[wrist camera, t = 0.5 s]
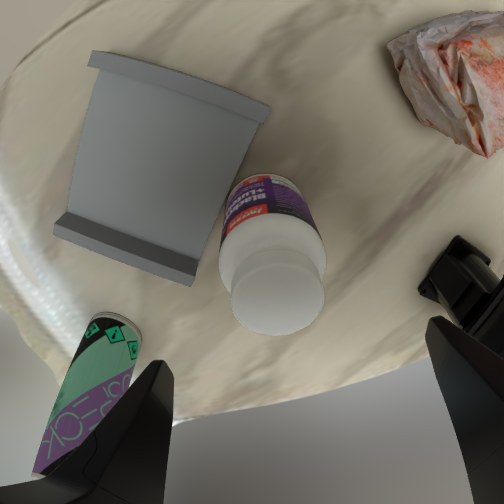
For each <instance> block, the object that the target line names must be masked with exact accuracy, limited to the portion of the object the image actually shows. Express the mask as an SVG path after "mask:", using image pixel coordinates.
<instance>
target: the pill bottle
mask: <svg viewBox="0 0 504 504" xmlns="http://www.w3.org/2000/svg"><path fill="white" fill-rule="evenodd" d="M325 269H326V252H325V248H324V245H323V242H322V239H321V237H320V234H319V232H318V230H317V227H316V225H315V223H314V221H313V218H312V216H311V214H310V212H309V209H308V207H307V205H306V202H305V200H304V198H303V196H302V194H301V193H300V191H299V190H298V188H297V187H296V186H295V185H294V184H293V183H292V182H291V181H289V180H288V179H286V178H284V177H281V176H279V175H275V174H257V175H253V176H250V177H248V178H246V179H244V180H243V181H241V182H240V183H239V184H238V185H237V186H236V187H235V188H234V189H233V190H232V192H231V194H230V195H229V198H228V200H227V204H226V208H225V215H224V223H223V230H222V237H221V244H220V251H219V273H220V276H221V279H222V282H223V284H224V285H225V287H226V289H227V290H228V291H229V292H230V293H231V309H232V312H233V315H234V316H235V318H236V319H237V321H238V322H239V323H240V324H241V325H242V326H244V327H245V328H247V329H248V330H250V331H253V332H255V333H258V334H262V335H268V336H280V335H287V334H291V333H294V332H297V331H299V330H301V329H303V328H305V327H307V326H308V325H309V324H311V323H312V322H313V321H314V320H315V319H316V318H317V317H318V315H319V314H320V312H321V310H322V308H323V305H324V297H325V296H324V289H323V286H322V282H321V280H322V278H323V276H324V273H325Z"/></svg>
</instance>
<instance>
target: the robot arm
mask: <svg viewBox="0 0 504 504" xmlns="http://www.w3.org/2000/svg"><path fill="white" fill-rule="evenodd" d="M490 262H491V260H490V259H489V258H488V257H487V256H486V255H484V254H483V253H482V252H481V251H479V250H478V249H477V248H475V247H474V246H473V245H471V244H470V243H469V242H467V241H466V240H465V239H463V238H462V237H460V236H457V237H455V239H454V240H453V241H452V243H451V244H450V246H449V247H448V249H447V250H446V252H445V253H444V255H443V256H442V257H441V259H440V260H439V262H438V263H437V264H436V266H435V267H434V268H433V270H432V271H431V272H430V274H429V275H428V276H427V278H426V279H425V280H424V282H423V283H422V284H421V286H420V287H419V288H418V292H419V294H420V295H421V296H424V297H426V298H428V299H431V300H433V301H435V302H437V303H440V304H442V306H443V307H444V309H445V310H446V312H447V313H448V315H449V316H450V318H451V319H452V321H453V323H454V324H455V325H454V324H453V323H451V322H450V321H448V320H447V319H446V318H444V317H443V316H435V317H432V318H430V319H429V322H428V326H427V330H426V334H425V340H426V343H427V347H428V350H429V354H430V357H431V361H432V364H433V368H434V372H435V375H436V378H437V381H438V384H439V387H440V389H441V392H442V394H443V397H444V400H445V403H446V406H447V408H448V411H449V414H450V417H451V420H452V423H453V426H454V429H455V432H456V436H457V439H458V442H459V446H460V449H461V452H462V456H463V459H464V463H465V467H466V470H467V474H468V479H469V483H470V487H471V491H472V496H473V501H474V504H504V275H503V278H502V279H501V280H500V279H499V278H498V277H497V276H496V275H495V274H494V273H493V271H492V270H491V269H490V268H489V267H488V266H489V265H490ZM173 399H174V376H173V373H172V372H171V370H170V368H169V367H168V365H167V363H166V362H165V361H164V360H153V361H152V362H151V363H150V364H149V365H148V366H147V367H146V368H145V370H144V371H143V372H142V373H141V374H140V375H139V377H138V378H137V379H136V380H135V381H134V383H133V384H132V385H131V386H130V387H129V388H128V390H127V391H126V392H125V393H124V394H123V395H122V397H121V398H120V399H119V400H118V401H117V402H116V404H115V405H114V406H113V407H112V408H111V409H110V411H109V412H108V413H107V414H106V415H105V417H104V418H103V419H102V420H101V421H100V422H99V424H98V425H97V426H96V427H95V430H93V431H92V432H91V433H90V434H89V435H88V436H87V438H86V439H85V440H84V441H83V442H82V443H81V444H80V445H79V446H78V447H77V448H76V449H75V450H74V451H73V452H72V453H71V454H70V455H69V456H68V457H67V458H66V459H65V460H64V461H63V462H62V463H61V464H60V465H59V466H58V467H57V468H56V469H55V470H54V471H53V472H51V473H50V474H49V475H47V476H46V477H44V478H41V479H38V480H34V481H29V482H24V483H19V484H14V485H8V486H2V487H0V504H163V501H164V490H165V480H166V471H167V462H168V454H169V446H170V437H171V430H172V422H173Z"/></svg>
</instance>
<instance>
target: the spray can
mask: <svg viewBox="0 0 504 504" xmlns="http://www.w3.org/2000/svg"><path fill="white" fill-rule="evenodd" d="M141 340H142V338H141V334H140V332H139V330H138V328H137V327H136V326H135V325H134V324H133V323H132V322H131V321H129V320H128V319H126V318H125V317H123V316H121V315H118V314H115V313H109V312H103V313H98V314H96V315H95V316H94V317H93V318H92V320H91V321H90V323H89V325H88V327H87V329H86V332H85V334H84V336H83V338H82V340H81V342H80V344H79V347H78V349H77V351H76V353H75V356H74V358H73V360H72V362H71V365H70V367H69V369H68V372H67V374H66V377H65V379H64V381H63V384H62V386H61V389H60V392H59V394H58V397H57V399H56V402H55V404H54V407H53V410H52V412H51V415H50V418H49V421H48V424H47V427H46V429H45V432H44V435H43V438H42V441H41V445H40V448H39V451H38V454H37V457H36V461H35V464H34V468H33V471H32V475H31V478H32V481H34V480H38V479H41V478H44V477H46V476H47V475H49V474H50V473H51V472H53V471H54V470H55V469H56V468H57V467H58V466H59V465H60V464H61V463H62V462H63V461H64V460H65V459H66V458H67V457H68V456H69V455H70V454H71V453H72V452H73V451H74V450H75V449H76V448H77V447H78V446H79V445H80V444H81V443H82V442H83V441H84V440H85V439H86V438H87V436H88V435H89V434H90V433H91V432H92V431H93V430H95V427H96V426H97V425H98V424H99V422H100V421H101V420H102V419H103V418H104V417H105V415H106V414H107V413H108V412H109V411H110V409H111V408H112V407H113V406H114V405H115V404H116V402H117V401H118V400H119V399H120V398H121V397H122V395H123V394H124V393H125V392H126V391H127V390H128V388H129V384H130V381H131V377H132V373H133V370H134V366H135V363H136V359H137V356H138V352H139V349H140V346H141Z"/></svg>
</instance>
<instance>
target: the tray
mask: <svg viewBox="0 0 504 504" xmlns="http://www.w3.org/2000/svg"><path fill="white" fill-rule="evenodd" d="M87 66H90V67H94V68H98V69H100V71H99V74H98V77H97V80H96V83H95V86H94V89H93V92H92V96H91V99H90V102H89V106H88V109H87V113H86V117H85V120H84V124H83V128H82V132H81V136H80V140H79V145H78V149H77V154H76V159H75V164H74V169H73V174H72V180H71V186H70V192H69V199H68V206H67V212H66V213H65V214H63V215H62V216H61V217H60V218H59V219H58V220H57V221H56V222H55V223H54V233H53V235H55V236H57V237H59V238H62V239H64V240H67V241H69V242H72V243H74V244H77V245H79V246H81V247H84V248H86V249H89V250H91V251H94V252H97V253H99V254H102V255H104V256H107V257H109V258H112V259H115V260H117V261H120V262H122V263H125V264H128V265H130V266H133V267H136V268H138V269H141V270H144V271H147V272H149V273H152V274H155V275H158V276H160V277H163V278H166V279H169V280H172V281H174V282H177V283H180V284H183V285H186V286H189V287H191V286H192V283H193V281H194V279H195V275H196V271H197V266H198V261H199V259H200V256H201V254H202V251H203V249H204V247H205V244H206V242H207V240H208V237H209V235H210V232H211V230H212V228H213V225H214V223H215V221H216V219H217V216H218V214H219V212H220V209H221V207H222V205H223V202H224V200H225V198H226V196H227V193H228V191H229V189H230V187H231V184H232V182H233V180H234V178H235V176H236V173H237V171H238V169H239V167H240V165H241V162H242V160H243V158H244V156H245V154H246V152H247V149H248V147H249V145H250V143H251V141H252V139H253V137H254V135H255V132H256V130H257V128H258V126H259V124H260V123H262V124H264V122H265V120H266V118H267V116H268V114H269V112H270V110H271V108H270V107H269V106H268V105H266V104H264V103H262V102H259V101H257V100H255V99H252V98H250V97H248V96H245V95H243V94H240V93H238V92H235V91H233V90H230V89H228V88H225V87H222V86H220V85H217V84H214V83H212V82H209V81H206V80H203V79H200V78H197V77H195V76H192V75H189V74H186V73H183V72H180V71H176V70H173V69H170V68H167V67H163V66H160V65H157V64H153V63H150V62H146V61H142V60H139V59H135V58H131V57H127V56H123V55H119V54H115V53H110V52H104V51H95V50H93V51H92V54H91V56H90V59H89V62H88V65H87Z"/></svg>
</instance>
